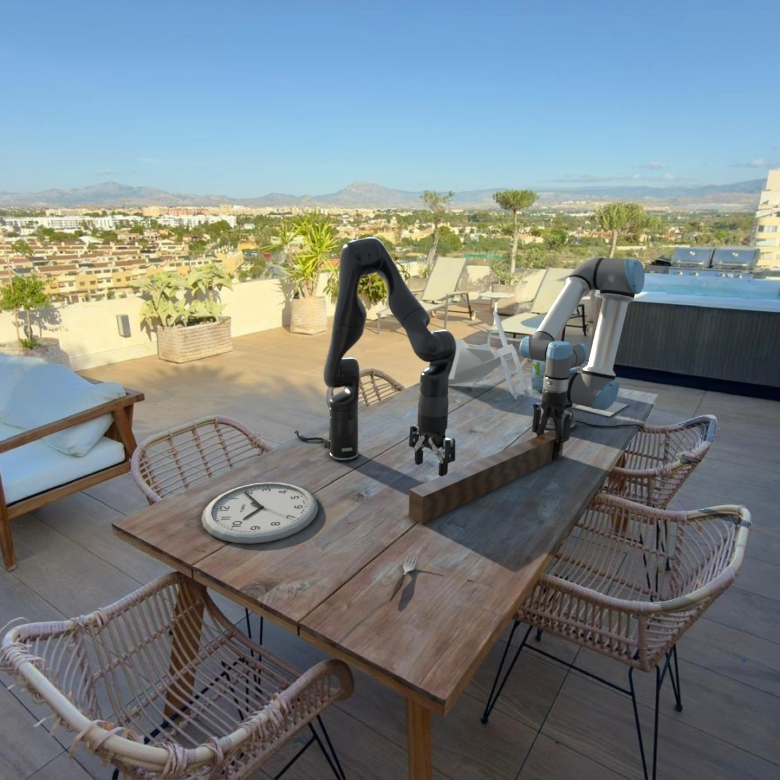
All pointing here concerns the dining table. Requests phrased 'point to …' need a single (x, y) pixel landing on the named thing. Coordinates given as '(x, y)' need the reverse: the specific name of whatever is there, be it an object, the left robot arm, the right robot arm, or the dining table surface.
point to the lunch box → (538, 375)
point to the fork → (407, 568)
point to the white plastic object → (485, 362)
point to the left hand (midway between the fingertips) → (430, 469)
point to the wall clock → (259, 513)
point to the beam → (479, 477)
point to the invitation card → (608, 412)
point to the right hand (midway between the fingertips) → (547, 456)
